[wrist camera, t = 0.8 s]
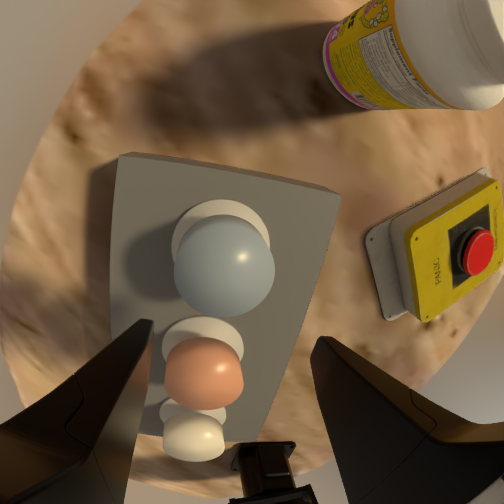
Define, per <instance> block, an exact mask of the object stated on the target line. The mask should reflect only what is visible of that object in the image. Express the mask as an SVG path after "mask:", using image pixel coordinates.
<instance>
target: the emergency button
mask: <svg viewBox="0 0 504 504" xmlns="http://www.w3.org/2000/svg"><path fill="white" fill-rule="evenodd" d="M365 245H366V248H367V252H368V256H369V259H370V263H371V267H372V271H373V274H374V278H375V282H376V286H377V290H378V295H379V299H380V303H381V308H382V312H383V316H384V318H385V319H386V320H389V321H392V320H394V319H397V318H398V317H400V316H402V315H403V314H405V313H406V312H408V311H409V312H410V313H412V314H413V315H414V316H416V317H417V319H419V320H421V321H422V322H428V321H430V320H431V319H433V318H434V317H436V316H437V315H439V314H440V313H442V312H443V311H444V310H446V309H447V308H449V307H450V306H452V305H453V304H454V303H456V302H457V301H458V300H460V299H461V298H462V297H464V296H465V295H466V294H468V293H469V292H470V291H472V290H473V289H474V288H476V287H477V286H478V285H479V284H481V283H482V282H483V281H484V280H486V279H487V278H488V277H489V276H491V275H492V274H493V273H494V272H495V271H497V270H498V269H499V268H500V266H501V265H502V262H503V258H504V218H503V200H502V188H501V184H500V183H499V182H498V181H497V180H495V179H493V178H491V175H490V172H489V170H488V169H487V168H481V169H479V170H478V171H476V172H474V173H472V174H471V175H469V176H467V177H465V178H463V179H462V180H460V181H458V182H456V183H455V184H453V185H451V186H449V187H447V188H446V189H444V190H442V191H440V192H438V193H437V194H435V195H433V196H431V197H429V198H427V199H426V200H424V201H422V202H420V203H418V204H416V205H414V206H413V207H411V208H409V209H407V210H405V211H403V212H401V213H399V214H398V215H396V216H394V217H392V218H390V219H388V220H386V221H384V222H382V223H381V224H379V225H377V226H375V227H374V228H372V229H371V230H370V231H369V232H368V234H367V236H366V238H365Z"/></svg>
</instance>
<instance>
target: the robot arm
mask: <svg viewBox="0 0 504 504" xmlns="http://www.w3.org/2000/svg"><path fill="white" fill-rule="evenodd" d="M153 337H154V321H153V320H150V319H143V318H141V319H139V320H138V321H136V322H135V323H134V324H133V325H131V326H130V327H129V328H128V329H127V330H125V331H124V332H123V333H122V334H121V335H119V336H118V337H117V338H116V339H115V340H113V341H112V342H111V343H110V344H108V345H107V346H106V347H105V348H104V349H102V350H101V351H100V352H99V353H98V354H96V355H95V356H94V357H93V358H92V359H91V360H89V361H88V362H87V363H86V364H85V365H83V366H82V367H81V368H80V369H79V370H77V371H76V372H75V373H74V375H71V376H70V377H69V378H68V379H67V380H65V381H64V382H63V383H62V384H60V385H59V386H58V387H57V388H55V389H54V390H53V391H52V392H50V393H49V394H47V395H46V396H44V397H43V398H41V399H40V400H39V401H37V402H35V403H34V404H32V405H31V406H29V407H28V408H26V409H25V410H23V411H22V412H20V413H18V414H17V415H15V416H14V417H12V418H11V419H9V420H8V421H6V422H4V423H2V424H0V504H124V497H125V492H126V487H127V481H128V476H129V471H130V466H131V461H132V456H133V452H134V447H135V442H136V438H137V433H138V429H139V425H140V420H141V416H142V412H143V408H144V404H145V400H146V395H147V390H148V383H149V374H150V366H151V358H152V350H153ZM310 363H311V369H312V374H313V379H314V384H315V390H316V395H317V400H318V403H319V407H320V410H321V413H322V416H323V419H324V423H325V426H326V429H327V432H328V436H329V439H330V442H331V445H332V449H333V452H334V455H335V458H336V462H337V465H338V468H339V471H340V475H341V478H342V482H343V485H344V488H345V492H346V495H347V499H348V502H349V504H504V422H499V423H492V424H477V423H473V422H470V421H468V420H466V419H464V418H462V417H460V416H458V415H456V414H454V413H452V412H450V411H448V410H447V409H444V408H443V407H441V406H439V405H437V404H435V403H434V402H432V401H430V400H428V399H427V398H425V397H423V396H422V395H420V394H418V393H417V392H415V391H414V390H412V389H409V387H408V386H406V385H404V384H403V383H401V382H400V381H398V380H397V379H395V378H394V377H392V376H390V375H389V374H387V373H386V372H384V371H383V370H381V369H380V368H378V367H377V366H375V365H374V364H372V363H371V362H369V361H367V360H366V359H364V358H363V357H361V356H360V355H358V354H357V353H355V352H354V351H352V350H351V349H349V348H348V347H346V346H345V345H343V344H342V343H340V342H339V341H337V340H336V339H334V338H333V337H331V336H320V337H319V338H318V339H317V341H316V344H315V346H314V349H313V351H312V354H311V357H310ZM295 447H296V444H295V442H283V443H251V444H240V445H239V447H238V450H237V452H236V455H235V458H234V460H233V463H232V465H231V471H240V477H241V483H242V489H243V495H244V498H238V499H235V498H232V499H229V501H230V503H228V504H318V502H317V499H316V497H315V494H314V492H313V489H312V487H311V485H310V484H308V485H305V486H303V487H298V488H296V485H295V482H294V479H293V475H292V471H291V468H290V464H289V461H288V458H289V457H290V455H291V454H292V452H293V450H294V449H295Z"/></svg>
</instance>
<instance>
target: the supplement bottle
mask: <svg viewBox="0 0 504 504" xmlns="http://www.w3.org/2000/svg"><path fill="white" fill-rule="evenodd" d="M323 63H324V67H325V70H326V73H327V75H328V77H329V79H330V81H331V82H332V84H333V85H334V86H335V88H336V89H337V90H338V91H339V92H340V94H342V95H343V96H344V97H345V98H346V99H348V100H349V101H350V102H352V103H354V104H356V105H358V106H360V107H363V108H366V109H372V110H394V109H459V110H485V109H488V108H491V107H493V106H494V105H496V104H498V103H499V102H500V101H501V100H502V99H503V97H504V0H371V1H369V2H368V3H366V4H365V5H363V6H362V7H360V8H359V9H357V10H356V11H354V12H353V13H351V14H350V15H348V16H347V17H345V18H344V19H343V20H341V21H340V22H339V23H337V24H336V25H335V26H334V27H333V28H332V29H331V30H330V31H329V33H328V35H327V36H326V39H325V41H324V45H323Z"/></svg>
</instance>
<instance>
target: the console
mask: <svg viewBox="0 0 504 504" xmlns="http://www.w3.org/2000/svg"><path fill="white" fill-rule="evenodd" d="M341 199H342V195H340V194H338V193H336V192H334V191H332V190H330V189H328V188H326V187H324V186H320V185H316V184H312V183H308V182H303V181H299V180H294V179H290V178H285V177H281V176H276V175H271V174H267V173H262V172H257V171H252V170H247V169H241V168H236V167H231V166H225V165H220V164H214V163H208V162H202V161H196V160H189V159H183V158H176V157H169V156H162V155H154V154H146V153H138V152H130V153H126V154H122V155H119V158H118V166H117V174H116V182H115V191H114V201H113V213H112V227H111V245H110V327H111V342H112V341H113V340H115V339H116V338H117V337H118V336H119V335H121V334H122V333H123V332H124V331H125V330H127V329H128V328H129V327H130V326H131V325H133V324H134V323H135V322H136V321H138V320H139V319H141V318H143V319H150V320H153V321H154V337H153V350H152V358H151V366H150V374H149V383H148V390H147V395H146V400H145V404H144V408H143V412H142V416H141V420H140V425H139V429H138V433H140V434H146V435H153V436H161V437H163V431H164V423H165V422H166V420H167V419H169V418H170V417H172V416H174V415H177V414H181V413H201V414H205V415H209V416H211V417H213V418H215V419H217V420H218V421H219V422H220V423H221V425H222V429H223V438H224V441H233V442H256V440H257V438H258V436H259V433H260V431H261V429H262V427H263V424H264V422H265V420H266V417H267V415H268V412H269V410H270V408H271V405H272V403H273V400H274V398H275V395H276V393H277V390H278V388H279V385H280V383H281V380H282V378H283V375H284V373H285V370H286V367H287V365H288V362H289V360H290V357H291V354H292V351H293V349H294V346H295V343H296V341H297V338H298V335H299V332H300V330H301V327H302V324H303V321H304V318H305V315H306V312H307V310H308V307H309V304H310V301H311V298H312V295H313V292H314V289H315V286H316V283H317V280H318V276H319V273H320V270H321V267H322V264H323V261H324V257H325V254H326V251H327V248H328V244H329V241H330V238H331V234H332V231H333V227H334V224H335V220H336V217H337V213H338V210H339V206H340V203H341ZM220 214H226V215H233V216H237V217H240V218H243V219H245V220H246V221H248V222H250V223H251V224H252V225H253V226H254V227H256V228H257V230H258V231H259V232H260V233H261V235H262V237H263V239H264V240H265V242H266V244H267V246H268V248H269V250H270V251H271V254H272V256H273V259H274V263H275V277H274V282H273V284H272V287H271V289H270V291H269V293H268V294H267V296H266V297H265V298H264V300H263V301H262V302H261V303H260V304H259V305H257V306H256V307H255V308H253V309H252V310H250V311H248V312H246V313H243V314H241V315H237V316H233V317H213V316H209V315H205V314H203V313H200V312H198V311H197V310H195V309H193V308H192V307H191V306H189V305H188V304H187V303H186V302H185V301H184V300H183V298H182V297H181V295H180V294H179V292H178V290H177V287H176V284H175V280H174V266H175V261H176V256H177V251H178V246H179V243H180V241H181V239H182V237H183V235H184V234H185V233H186V231H187V230H188V229H189V228H190V227H191V226H192V225H194V224H195V223H196V222H198V221H200V220H201V219H204V218H206V217H209V216H213V215H220ZM195 337H210V338H215V339H218V340H221V341H223V342H225V343H227V344H229V345H230V346H231V347H232V348H233V349H234V350H235V351H236V353H237V354H238V356H239V360H240V365H241V371H242V376H243V382H244V387H243V390H242V393H241V394H240V396H239V397H238V398H237V399H236V400H235V401H234V402H232V403H231V404H229V405H227V406H225V407H222V408H219V409H215V410H195V409H190V408H187V407H184V406H182V405H180V404H178V403H177V402H175V401H174V400H173V399H171V397H170V396H169V395H168V394H167V392H166V390H165V385H164V381H165V371H166V362H167V357H168V354H169V352H170V351H171V349H172V348H173V347H174V346H175V345H177V344H178V343H180V342H182V341H184V340H187V339H190V338H195Z"/></svg>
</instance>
